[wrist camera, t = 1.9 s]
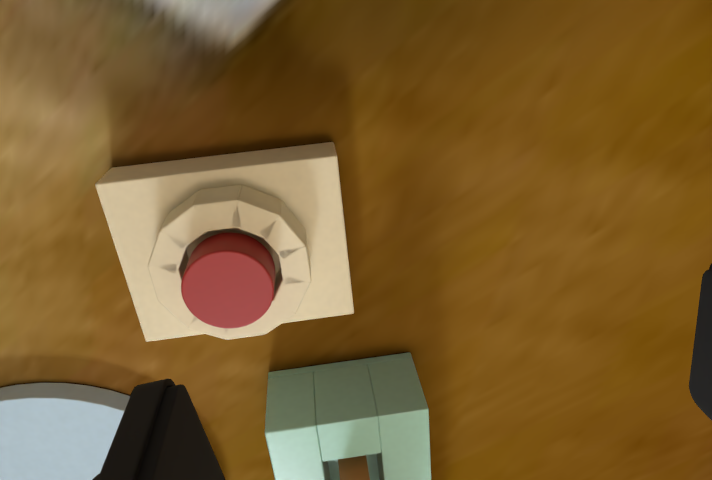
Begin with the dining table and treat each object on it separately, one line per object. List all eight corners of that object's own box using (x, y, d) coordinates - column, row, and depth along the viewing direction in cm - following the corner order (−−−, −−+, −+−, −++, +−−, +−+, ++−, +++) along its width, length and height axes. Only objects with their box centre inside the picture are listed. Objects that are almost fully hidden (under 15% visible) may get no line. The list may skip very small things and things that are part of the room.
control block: (156, 316, 27) (135, 366, 24) (110, 167, 24) (78, 200, 20) (350, 290, 28) (358, 336, 24) (333, 141, 24) (340, 168, 21)
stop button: (198, 311, 23) (191, 335, 22) (179, 237, 22) (170, 257, 20) (281, 300, 24) (280, 323, 22) (268, 226, 22) (266, 244, 20)
